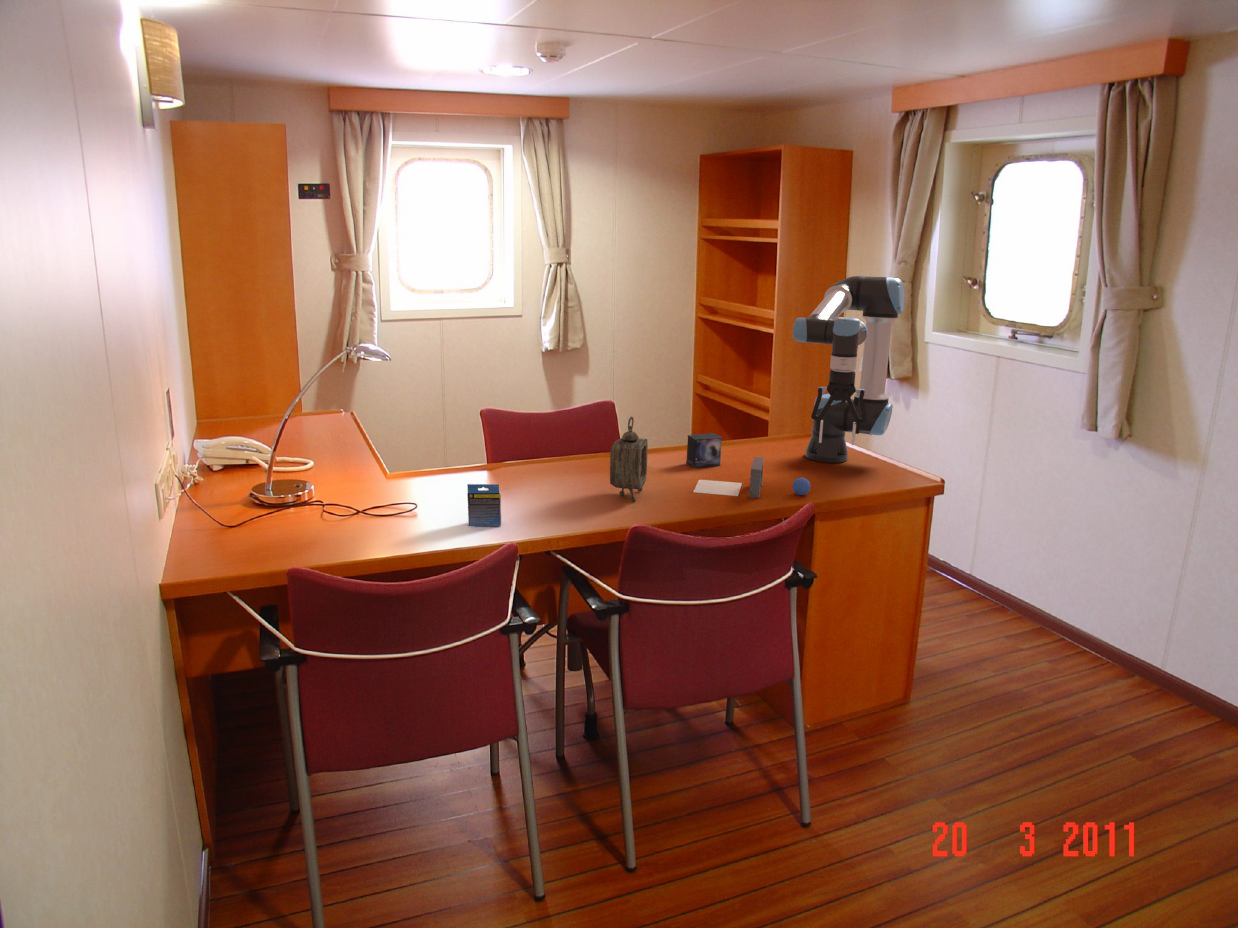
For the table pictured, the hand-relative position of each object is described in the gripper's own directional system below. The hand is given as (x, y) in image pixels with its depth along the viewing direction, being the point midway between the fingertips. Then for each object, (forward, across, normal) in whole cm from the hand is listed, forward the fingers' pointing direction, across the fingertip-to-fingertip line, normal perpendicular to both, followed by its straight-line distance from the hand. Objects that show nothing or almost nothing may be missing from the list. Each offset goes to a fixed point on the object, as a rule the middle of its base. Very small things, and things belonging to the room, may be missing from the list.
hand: (836, 442), depth 273 cm
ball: (+15, -10, 0) cm, 18 cm away
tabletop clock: (+18, -61, -16) cm, 66 cm away
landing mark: (+17, -35, 0) cm, 39 cm away
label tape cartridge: (+18, -94, -52) cm, 109 cm away
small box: (+18, -44, +26) cm, 54 cm away
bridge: (+17, -24, 0) cm, 29 cm away
